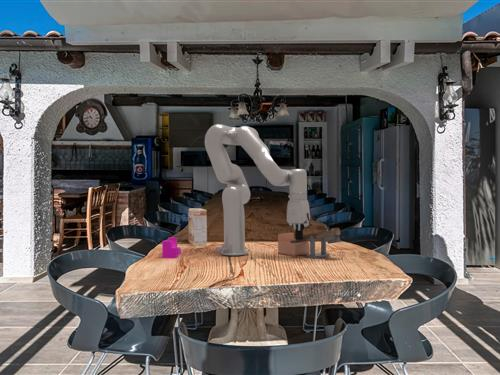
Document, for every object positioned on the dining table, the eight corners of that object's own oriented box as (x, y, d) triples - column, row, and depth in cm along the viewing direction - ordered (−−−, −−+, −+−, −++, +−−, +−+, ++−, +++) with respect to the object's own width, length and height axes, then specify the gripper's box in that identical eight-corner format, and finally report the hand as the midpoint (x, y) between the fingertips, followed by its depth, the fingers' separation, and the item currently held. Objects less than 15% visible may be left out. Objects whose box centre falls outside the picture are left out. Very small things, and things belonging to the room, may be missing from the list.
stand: (315, 258, 201) (315, 236, 201) (306, 257, 205) (306, 235, 205) (329, 256, 208) (329, 234, 208) (320, 255, 212) (320, 234, 212)
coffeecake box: (188, 245, 250) (187, 208, 250) (201, 244, 252) (201, 208, 252) (193, 248, 236) (193, 209, 236) (207, 248, 238) (207, 209, 238)
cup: (295, 256, 209) (294, 235, 209) (278, 253, 217) (278, 234, 217) (309, 253, 216) (309, 234, 216) (292, 251, 224) (292, 232, 224)
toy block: (176, 258, 207) (176, 241, 207) (162, 258, 207) (162, 241, 207) (182, 253, 222) (182, 237, 222) (169, 253, 222) (169, 237, 222)
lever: (323, 244, 192) (320, 229, 193) (286, 251, 206) (284, 237, 207) (342, 241, 201) (339, 227, 202) (305, 248, 215) (303, 235, 216)
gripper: (279, 197, 209) (280, 239, 209) (306, 197, 198) (306, 241, 198) (291, 197, 214) (291, 237, 214) (317, 197, 203) (318, 239, 203)
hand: (299, 239), depth 206 cm, fingers closed
